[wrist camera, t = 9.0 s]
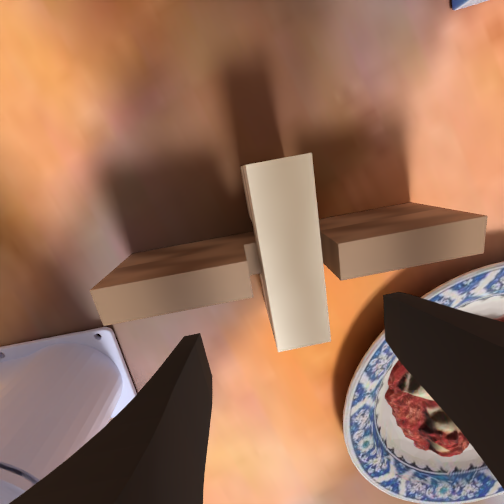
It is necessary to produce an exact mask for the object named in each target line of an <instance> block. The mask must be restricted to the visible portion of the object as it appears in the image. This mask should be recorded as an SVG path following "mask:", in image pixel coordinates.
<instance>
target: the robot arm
mask: <svg viewBox="0 0 504 504" xmlns="http://www.w3.org/2000/svg"><path fill="white" fill-rule="evenodd" d="M383 300H384V327H385V341H386V342H387V344H388V345H389V347H390V348H391V350H392V351H393V353H394V354H395V355H396V357H397V358H398V360H399V361H400V362H401V364H402V365H403V366H404V367H405V368H406V369H407V371H408V372H409V373H410V374H411V375H412V376H413V377H414V378H415V380H416V381H417V382H418V383H419V384H420V385H421V386H422V387H423V389H424V390H425V391H426V392H427V393H428V394H429V395H430V396H431V397H432V399H433V400H434V401H435V402H436V403H437V404H438V405H439V406H440V407H441V409H442V410H443V411H444V412H445V413H446V414H447V415H448V416H449V418H450V419H451V420H452V421H453V422H454V424H455V425H456V426H457V427H458V428H459V430H460V431H461V432H462V433H463V435H464V436H465V437H466V439H467V440H468V441H469V443H470V444H471V445H472V447H473V448H474V449H475V451H476V452H477V453H478V455H479V456H480V457H481V459H482V460H483V461H484V463H485V464H486V465H487V467H488V468H489V470H490V471H491V472H492V474H493V475H494V477H495V478H496V479H497V481H498V482H499V483H500V485H501V486H502V488H503V489H504V322H502V321H498V320H494V319H491V318H487V317H483V316H479V315H476V314H472V313H469V312H465V311H462V310H459V309H455V308H452V307H449V306H446V305H442V304H439V303H436V302H433V301H430V300H426V299H423V298H420V297H416V296H413V295H409V294H406V293H401V292H396V293H391V294H387V295H383ZM97 334H100V335H101V337H99V336H97ZM2 353H4V354H5V355H4V354H2ZM211 410H212V374H211V371H210V367H209V363H208V360H207V356H206V353H205V349H204V346H203V342H202V338H201V335H200V333H199V334H194V335H189V336H184V337H183V339H182V340H181V341H180V342H179V344H178V345H177V346H176V348H175V349H174V350H173V351H172V353H171V354H170V355H169V357H168V358H167V359H166V360H165V362H164V363H163V364H162V365H161V367H160V368H159V369H158V370H157V372H156V373H155V374H154V375H153V376H152V378H151V379H150V380H149V381H148V382H147V383H146V384H145V386H144V387H143V388H142V389H141V390H140V391H139V392H138V394H137V393H136V390H135V388H134V385H133V382H132V380H131V377H130V374H129V372H128V369H127V366H126V364H125V361H124V359H123V356H122V353H121V351H120V348H119V345H118V343H117V340H116V337H115V335H114V332H113V330H112V329H111V328H109V327H101V328H96V329H91V330H86V331H81V332H75V333H70V334H65V335H60V336H54V337H49V338H44V339H39V340H34V341H28V342H23V343H18V344H13V345H8V346H2V347H0V504H203V485H204V472H205V463H206V454H207V446H208V437H209V428H210V419H211ZM112 417H114V418H113V419H112V420H111V421H110V422H109V420H110V418H112ZM108 422H109V423H108Z"/></svg>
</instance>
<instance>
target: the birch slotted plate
mask: <svg viewBox="0 0 504 504" xmlns="http://www.w3.org/2000/svg"><path fill="white" fill-rule="evenodd" d="M240 169H241V174H242V180H243V185H244V191H245V196H246V202H247V207H248V213H249V216H250V218H251V221H252V223H253V229H254V234H255V240H256V246H257V251H258V257H259V262H260V268H261V273H260V279H261V285H262V290H263V296H264V301H265V305H266V309H267V312H268V316H269V320H270V323H271V327H272V331H273V335H274V338H275V342H276V346H277V349H278V352H281V351H286V350H291V349H296V348H301V347H306V346H311V345H316V344H320V343H325V342H330V341H331V335H330V326H329V316H328V306H327V296H326V287H325V277H324V267H323V257H322V248H321V238H320V228H319V218H318V209H317V199H316V189H315V179H314V170H313V160H312V153H307V154H302V155H296V156H291V157H285V158H280V159H275V160H269V161H264V162H258V163H253V164H248V165H244V166H241V167H240Z"/></svg>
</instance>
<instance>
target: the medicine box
mask: <svg viewBox="0 0 504 504" xmlns="http://www.w3.org/2000/svg"><path fill="white" fill-rule="evenodd" d="M484 1H488V0H452V9H453V10H458V9H461V8H465V7H468V6H471V5H475V4H478V3H481V2H484Z"/></svg>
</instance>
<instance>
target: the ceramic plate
mask: <svg viewBox="0 0 504 504" xmlns="http://www.w3.org/2000/svg"><path fill="white" fill-rule="evenodd" d="M421 298H423V299H426V300H430V301H433V302H436V303H439V304H442V305H446V306H449V307H452V308H455V309H459V310H462V311H465V312H469V313H472V314H476V315H479V316H483V317H487V318H491V319H494V320H498V321H502V322H504V261H503V262H499V263H495V264H490V265H487V266H484V267H481V268H478V269H475V270H472V271H469V272H467V273H464V274H462V275H460V276H457V277H455V278H453V279H451V280H449V281H447V282H445V283H444V284H442V285H440V286H438V287H436V288H435V289H433V290H431V291H430V292H428V293H427V294H425V295H424V296H422V297H421ZM343 432H344V438H345V443H346V446H347V450H348V453H349V455H350V457H351V459H352V461H353V463H354V465H355V466H356V468H357V469H358V471H359V472H360V473H361V474H362V475H363V476H364V478H365V479H367V480H368V481H369V482H370V483H371V484H372V485H374V486H375V487H377V488H378V489H380V490H381V491H383V492H385V493H387V494H389V495H391V496H393V497H396V498H399V499H403V500H406V501H410V502H415V503H421V504H461V503H468V502H475V501H479V500H482V499H486V498H490V497H493V496H497V495H501V494H504V489H503V488H502V486H501V485H500V483H499V482H498V481H497V479H496V478H495V477H494V475H493V474H492V472H491V471H490V470H489V468H488V467H487V465H486V464H485V463H484V461H483V460H482V459H481V457H480V456H479V455H478V453H477V452H476V451H475V449H474V448H473V447H472V445H471V444H470V443H469V441H468V440H467V439H466V437H465V436H464V435H463V433H462V432H461V431H460V430H459V428H458V427H457V426H456V425H455V424H454V422H453V421H452V420H451V419H450V418H449V416H448V415H447V414H446V413H445V412H444V411H443V410H442V409H441V407H440V406H439V405H438V404H437V403H436V402H435V401H434V400H433V399H432V397H431V396H430V395H429V394H428V393H427V392H426V391H425V390H424V389H423V387H422V386H421V385H420V384H419V383H418V382H417V381H416V380H415V378H414V377H413V376H412V375H411V374H410V373H409V372H408V371H407V369H406V368H405V367H404V366H403V365H402V364H401V362H400V361H399V360H398V358H397V357H396V355H395V354H394V353H393V351H392V350H391V348H390V347H389V345H388V344H387V342H386V341H385V329H384V330H383V331H382V332H381V334H380V335H379V336H378V337H377V338H376V340H375V341H374V342H373V343H372V345H371V346H370V348H369V349H368V351H367V352H366V353H365V355H364V357H363V358H362V360H361V362H360V364H359V365H358V367H357V369H356V371H355V373H354V376H353V378H352V380H351V382H350V385H349V388H348V391H347V395H346V400H345V405H344V410H343Z"/></svg>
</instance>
